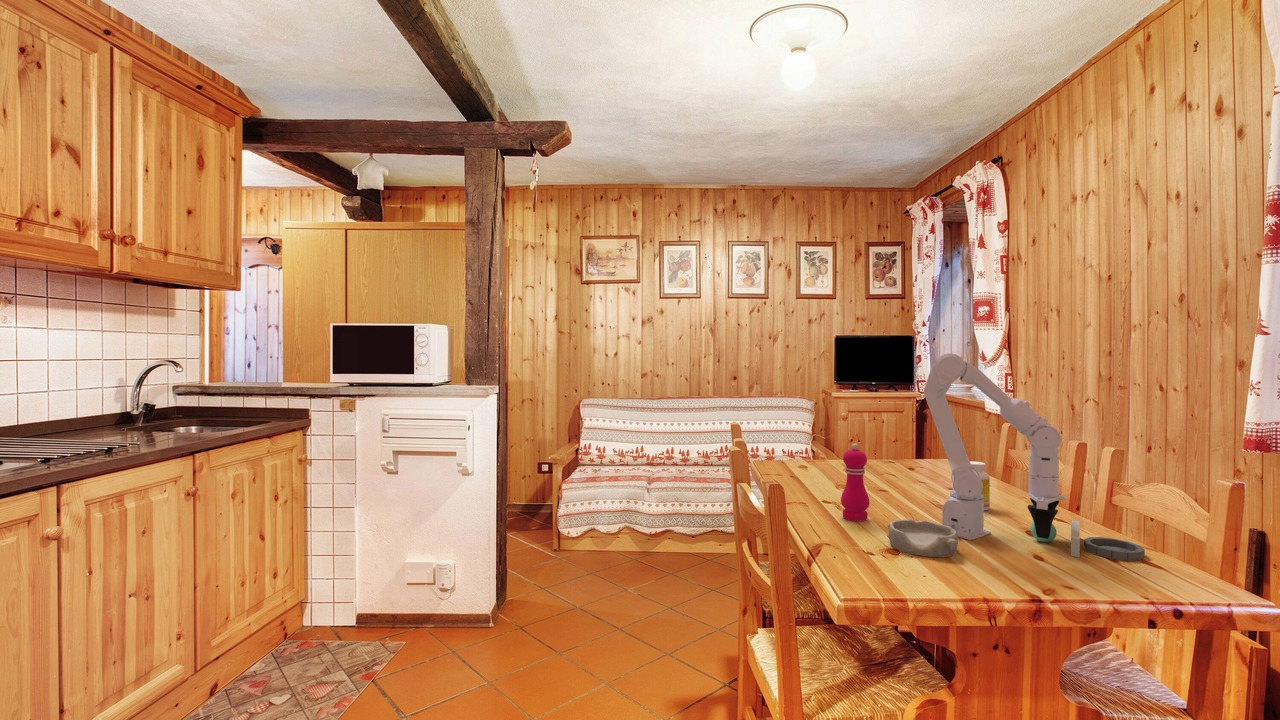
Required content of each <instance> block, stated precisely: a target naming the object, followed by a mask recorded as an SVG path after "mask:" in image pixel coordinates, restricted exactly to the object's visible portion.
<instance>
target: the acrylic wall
mask: <svg viewBox="0 0 1280 720" xmlns="http://www.w3.org/2000/svg"><path fill="white" fill-rule="evenodd" d="M1080 528H1081V527H1080V520H1075V519H1072V520H1071V527H1070V556H1071V557H1075V558H1080V555H1081V554H1080V551H1081V550H1080V547H1081V546H1080V543H1081V542H1080V540H1081V539H1080V536H1081V534H1080Z"/></svg>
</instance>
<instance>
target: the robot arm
mask: <svg viewBox="0 0 1280 720" xmlns="http://www.w3.org/2000/svg"><path fill="white" fill-rule="evenodd" d="M958 379H959V380H960V381H961V382H963V383H968V384H970V385H973V386H974V387H976V388H977V389H978V390H979V391H980V392H982V393H983V394H984V395H986V396H987V397H988V398H989V399H990V400H991V401H992V402H994V403H995V404H996V405H997V406H998V407H999V416H1000V417H1002V418H1003V419H1004V420H1005V421H1006V422H1007V423H1008V424H1010V425H1011V426H1012V427H1013V428H1014V429H1015V430H1016V431H1017V432H1018V433H1020V435H1022V436H1025V437H1026V439H1027V441H1028V442H1029V453H1028V492H1027V496H1028V497H1029V499H1030V501H1031V502H1030V503H1031V504H1027V510H1028V512H1029V514H1030V515H1031V518H1032V521H1033V522H1034V525H1035V530H1036V534H1037V537H1039V538H1045V539H1048V538H1049V536H1050V531H1051V526H1052V524H1053V522H1054V519H1055V517H1056V515H1057V514H1059V513H1058V512H1059V509H1057V506H1058V505H1059V503H1060V501H1065V500H1066V496H1065V495H1062V494H1059V493H1060V491H1059V488H1060V486H1059V485H1060V483H1059V481H1060V480H1059V477H1060V471H1059V470H1060V467H1059V466H1060V465H1059V463H1060V461H1059V460H1060V459H1059V458H1060V456H1059V447H1060V446H1061V444H1062V442H1063V438H1061V434H1060V432H1059V431H1058V430H1057V429H1056V428H1055V427H1054V426H1052V424H1050V423H1048V421H1049V420H1048V418H1046V417H1045V416H1041V415H1040V414H1039V413H1037V412H1036V411H1035V409H1033V408H1032V407H1031V406H1032V404H1031V403H1030V402H1029V401H1028V400H1024V401H1023V400H1022V399H1021V398H1012V397H1010V396H1008V394H1007V393H1006V392H1004V390H1002V388H1000V387H999V385H997V384H996V383H995V382H993V380H991V379H990V378H989V377H988V376H987V375H986V374H985V373H984V372H983V371H981V370H980V369H979V368H977V367H975V366H974V365H973V364H971V363H969V362H968V361H966V360H964V359H963V358H962V357H961V356H959V355H958V354H956V353H952V352H951V353H949V352H948V353H947V352H946V353H944V354H942V355H940V356H939V357H937V359H936V360H935V361H934V362H933V364H932V365H931V366H930V370H929V372H928V375H927V379H926V382H925V384H924V388H923V395H924V397H925V399H926V403H927V406H928V408H929V411H930V415H931V417H932V419H933V423H934V425H935V428H936V430H937V433H938V436H939V439H940V441H941V444H942V447H943V449H944V452H945V455H946V457H947V460H948V463H949V466H950V470H951V476H950V477H951V481H952V488H953V489H951V490H950V491H949V498H948V500H947V501H945V502H944V503H943V505H942V510H941V511H942V513H941V515H942V523H941V525H945V526H949V527H951V528H953V529H954V530H956V532H957V537H958V538H962V539H965V540H970V541H972V540H976V539H979V538H981V537H984V536H987V535H990V534H992V531H991V530H988V529H984V523H985V521H984V520H985V519H984V513H985V512H984V496H983V495H982V494H981V492H982V490H983V483H982V481H981V479H980V476H979V474H978V472H977V471H976V470H975V469H974V468H973V467H972V466H971V464H970V459H969V456H968V453H967V450H966V448H965V446H964V442H963V440H962V437H961V435H960V431H959V429H958V425H957V423H956V421H955V418H954V415H953V413H952V410H951V407H950V404H949V402H948V399H947V397H946V395H947V392H948V390H950V388H951V386H952V385H953V383H954V382H955V381H957V380H958Z"/></svg>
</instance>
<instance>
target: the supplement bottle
mask: <svg viewBox="0 0 1280 720" xmlns="http://www.w3.org/2000/svg"><path fill="white" fill-rule="evenodd" d="M969 461H970V460H969ZM970 464H971V466H972V467H973V468H974V469H975V470H976V471H977V472H978V474H979V476H980V479H981V481H982V483H983V490H982V492H981V494H982V495H983V496H984V510H985V511H988V510H990V507H991V505H990V503H991V501H990V500H991V499H990V491H991V490H990V488H991V487H990V484H991V483H990V480H991V479H990V474H989V473H988V472H986V471H985V470H986V463H985V462H982V461H974V460H973V461H970Z"/></svg>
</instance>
